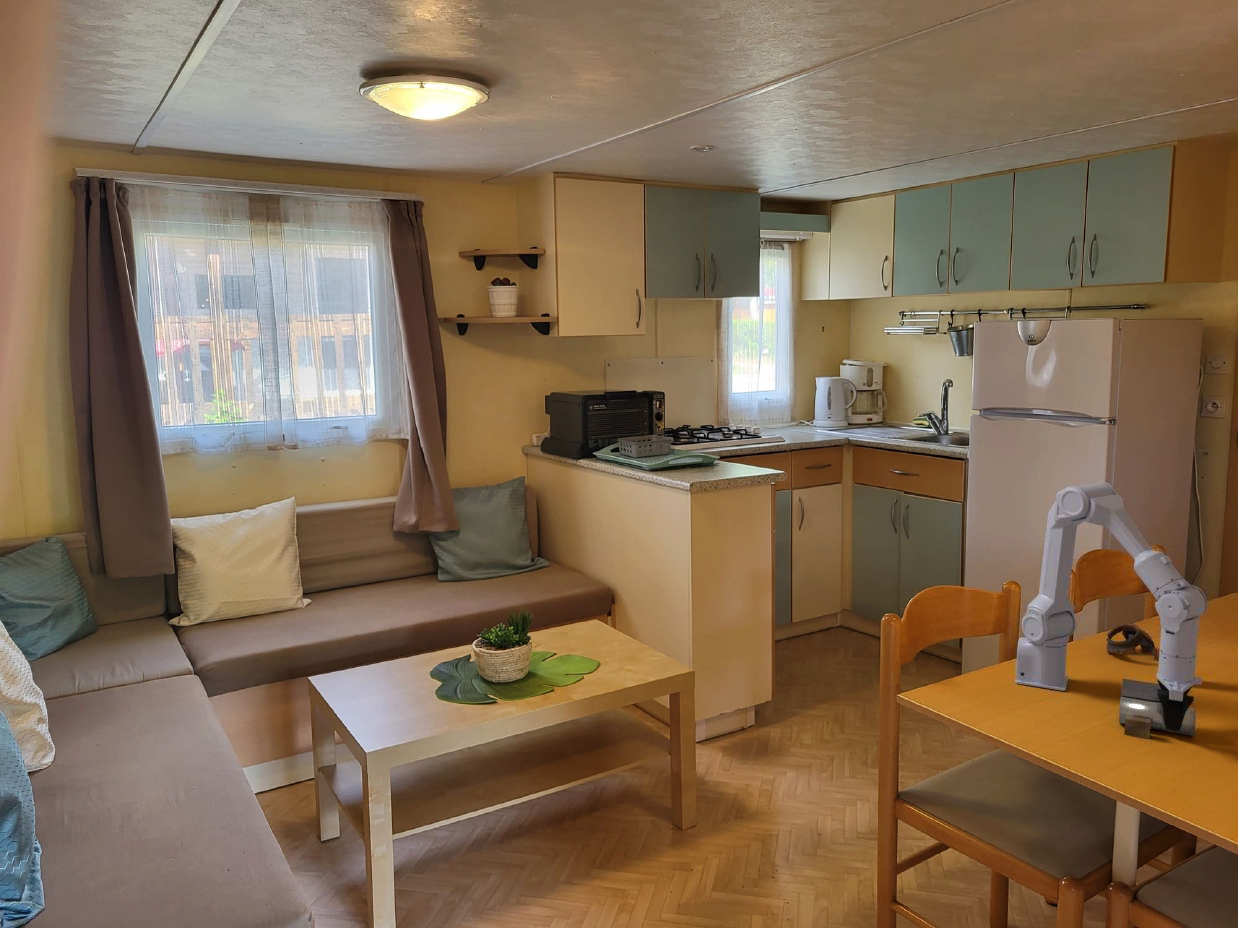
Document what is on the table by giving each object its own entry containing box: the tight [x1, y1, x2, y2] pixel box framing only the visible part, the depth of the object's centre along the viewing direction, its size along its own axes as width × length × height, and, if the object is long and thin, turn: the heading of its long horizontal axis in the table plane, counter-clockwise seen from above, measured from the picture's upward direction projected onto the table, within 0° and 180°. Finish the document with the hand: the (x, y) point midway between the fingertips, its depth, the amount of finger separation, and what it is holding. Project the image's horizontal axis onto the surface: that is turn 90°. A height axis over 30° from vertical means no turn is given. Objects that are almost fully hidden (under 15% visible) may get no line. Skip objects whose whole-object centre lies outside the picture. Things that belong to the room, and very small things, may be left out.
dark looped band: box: [1106, 622, 1158, 661], centre depth 208 cm, size 12×10×8 cm
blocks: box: [1123, 715, 1151, 740], centre depth 173 cm, size 4×10×3 cm, turn 150°
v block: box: [1120, 678, 1161, 703], centre depth 181 cm, size 8×8×4 cm
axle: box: [1118, 696, 1197, 737], centre depth 171 cm, size 12×5×5 cm, turn 60°
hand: (1172, 723), depth 170 cm, fingers closed on axle, 5 cm apart
